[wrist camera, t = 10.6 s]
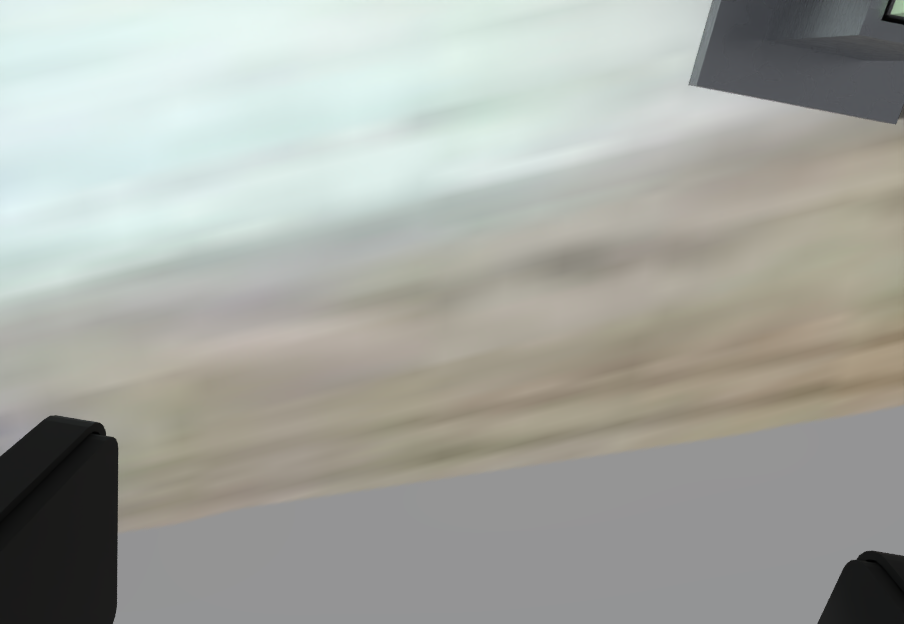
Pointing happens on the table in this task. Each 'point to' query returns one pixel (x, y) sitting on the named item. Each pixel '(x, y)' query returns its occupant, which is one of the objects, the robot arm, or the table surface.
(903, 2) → the steel post
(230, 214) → the table surface
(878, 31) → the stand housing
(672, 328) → the table surface
